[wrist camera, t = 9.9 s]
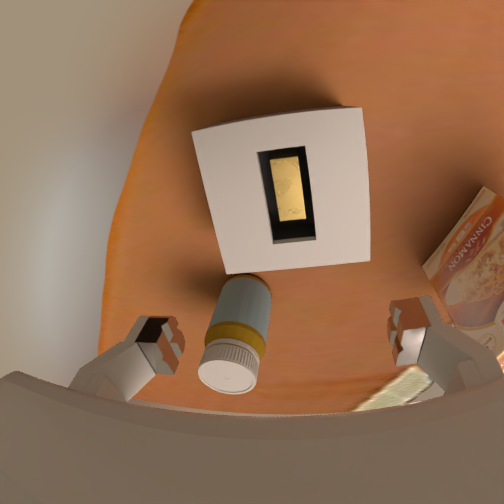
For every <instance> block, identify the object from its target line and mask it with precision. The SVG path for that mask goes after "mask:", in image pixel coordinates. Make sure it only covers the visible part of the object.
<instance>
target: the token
mask: <svg viewBox="0 0 504 504" xmlns="http://www.w3.org/2000/svg"><path fill="white" fill-rule="evenodd" d="M270 164H271V170H272V176H273V182H274V188H275V194H276V200H277V206H278V212H279V218H280V221H287V220H296V219H306V213H305V203H304V194H303V186H302V179H301V172H300V165H299V158H298V152H297V147H289V148H282V149H274V150H273V153H272V156H271V158H270Z"/></svg>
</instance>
